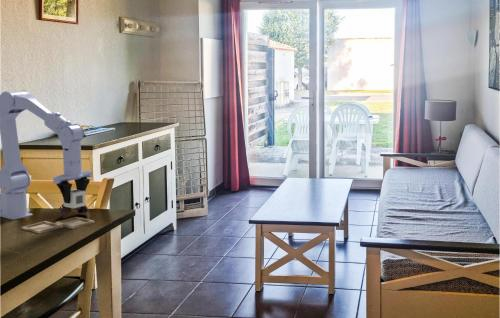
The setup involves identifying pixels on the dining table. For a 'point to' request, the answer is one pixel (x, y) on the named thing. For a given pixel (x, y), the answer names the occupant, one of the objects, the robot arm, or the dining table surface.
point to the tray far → (75, 222)
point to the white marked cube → (76, 199)
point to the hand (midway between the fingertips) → (74, 201)
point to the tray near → (42, 227)
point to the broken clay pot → (81, 209)
